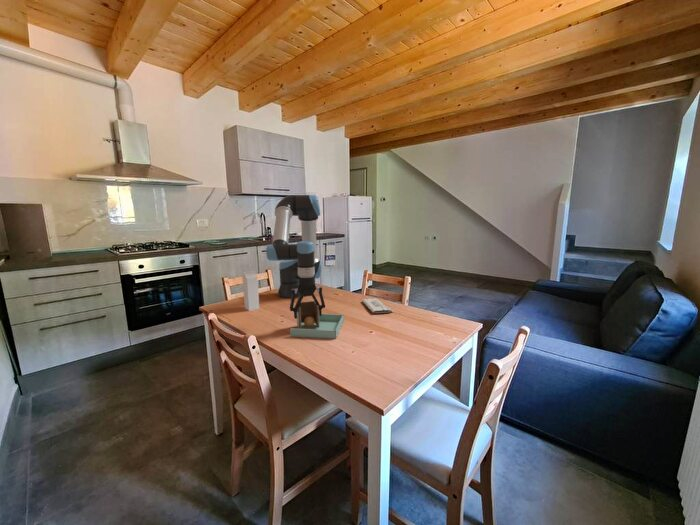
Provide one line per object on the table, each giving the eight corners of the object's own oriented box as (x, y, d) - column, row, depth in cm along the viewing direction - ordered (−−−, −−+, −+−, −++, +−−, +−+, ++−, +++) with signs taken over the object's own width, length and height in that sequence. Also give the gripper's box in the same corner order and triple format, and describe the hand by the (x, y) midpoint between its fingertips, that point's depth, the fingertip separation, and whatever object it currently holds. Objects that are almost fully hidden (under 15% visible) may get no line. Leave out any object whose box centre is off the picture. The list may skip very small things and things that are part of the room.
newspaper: (394, 313, 151) (394, 309, 151) (372, 315, 149) (372, 311, 148) (380, 301, 173) (380, 297, 173) (361, 302, 170) (361, 298, 170)
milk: (259, 309, 159) (257, 271, 155) (249, 312, 155) (246, 272, 151) (254, 307, 163) (252, 269, 160) (244, 309, 159) (241, 270, 156)
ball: (304, 324, 135) (306, 314, 135) (314, 327, 135) (316, 316, 135) (301, 327, 130) (303, 316, 130) (312, 329, 130) (314, 318, 130)
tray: (304, 319, 143) (304, 313, 142) (343, 321, 140) (343, 314, 139) (290, 336, 123) (290, 328, 122) (336, 338, 120) (335, 331, 120)
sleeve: (297, 323, 135) (296, 302, 133) (315, 320, 137) (314, 301, 136) (300, 329, 127) (299, 308, 125) (319, 327, 129) (318, 306, 128)
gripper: (282, 279, 122) (284, 329, 125) (331, 276, 127) (332, 324, 131) (281, 275, 129) (284, 323, 132) (328, 272, 134) (329, 318, 138)
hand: (308, 323), depth 132 cm, fingers closed on sleeve, 9 cm apart
